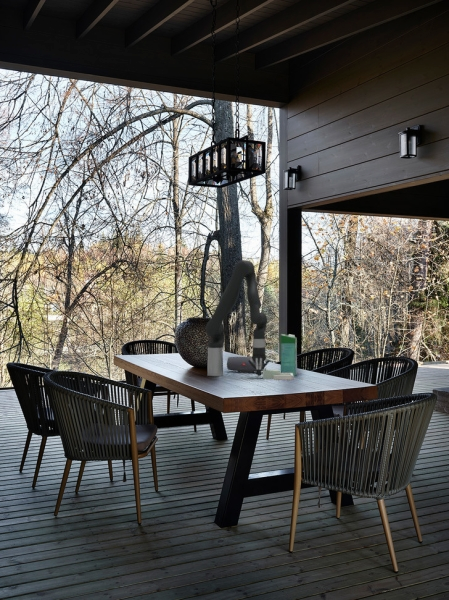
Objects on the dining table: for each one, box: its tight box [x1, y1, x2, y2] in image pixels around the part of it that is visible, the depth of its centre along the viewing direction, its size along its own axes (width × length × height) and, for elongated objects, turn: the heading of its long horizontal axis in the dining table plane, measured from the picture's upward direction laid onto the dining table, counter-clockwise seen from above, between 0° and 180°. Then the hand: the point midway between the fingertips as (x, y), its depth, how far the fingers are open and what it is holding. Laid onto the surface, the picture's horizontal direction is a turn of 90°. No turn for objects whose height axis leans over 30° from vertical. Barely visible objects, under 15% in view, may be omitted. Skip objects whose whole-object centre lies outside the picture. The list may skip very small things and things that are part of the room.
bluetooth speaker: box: [226, 356, 266, 374], centre depth 401 cm, size 23×9×10 cm, turn 71°
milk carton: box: [280, 333, 298, 377], centre depth 389 cm, size 9×9×25 cm
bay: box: [273, 372, 294, 381], centre depth 372 cm, size 12×12×2 cm
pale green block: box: [262, 367, 281, 380], centre depth 372 cm, size 10×6×6 cm, turn 85°
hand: (258, 375), depth 373 cm, fingers closed
